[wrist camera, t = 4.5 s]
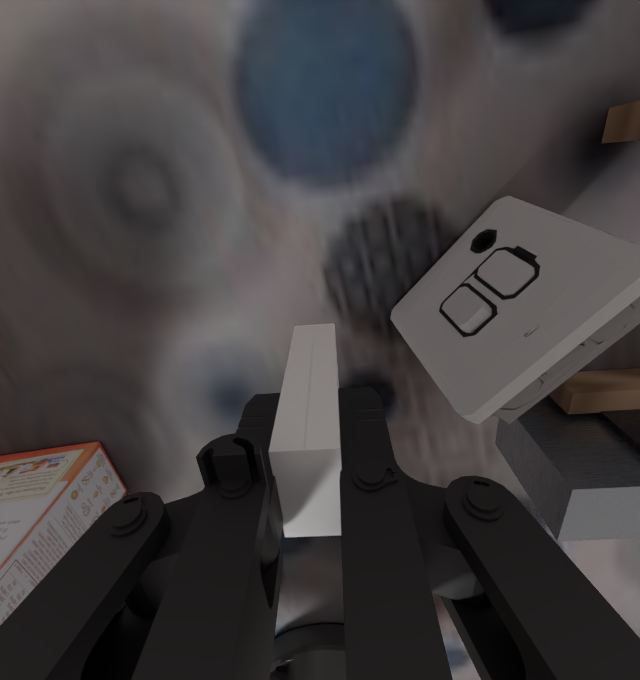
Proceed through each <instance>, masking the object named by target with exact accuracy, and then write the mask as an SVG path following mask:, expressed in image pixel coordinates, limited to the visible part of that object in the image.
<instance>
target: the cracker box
mask: <svg viewBox="0 0 640 680" xmlns="http://www.w3.org/2000/svg"><path fill="white" fill-rule="evenodd" d="M126 491H127V489H126V487H125V486H124V484H123V482H122V481H121V479H120V477H119V475H118V474H117V472H116V470H115V468H114V467H113V465H112V463H111V461H110V459H109V458H108V456H107V454H106V452H105V451H104V449H103V447H102V445H101V444H100V442H90V443H84V444H77V445H70V446H63V447H57V448H50V449H43V450H37V451H30V452H23V453H16V454H9V455H2V456H0V625H1V624H2V623H3V622H4V621H5V620H6V619H7V618H8V617H9V615H10V614H11V613H12V612H13V611H14V610H15V609H16V608H17V607H18V606H19V604H20V603H21V602H22V601H23V600H24V599H25V598H26V597H27V596H28V595H29V593H30V592H31V591H32V590H33V589H34V588H35V587H36V586H37V585H38V583H39V582H40V581H41V580H42V579H43V578H44V577H45V576H46V575H47V574H48V572H49V571H50V570H51V569H52V568H53V567H54V566H55V565H56V564H57V563H58V561H59V560H60V559H61V558H62V557H63V556H64V555H65V554H66V553H67V552H68V550H69V549H70V548H71V547H72V546H73V545H74V544H75V543H76V542H77V541H78V539H79V538H80V537H81V536H82V535H83V534H84V533H85V532H86V531H87V530H88V528H89V527H90V526H91V525H92V524H93V523H94V522H95V521H96V520H97V519H98V517H99V516H100V515H101V514H102V513H103V512H104V511H106V510H107V509H108V508H109V507H110V506H111V505H112V504H114V503H115V502H117V501H119V500H121V499H122V498H123V496H124V495H125V493H126Z"/></svg>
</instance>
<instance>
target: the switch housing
mask: <svg viewBox="0 0 640 680" xmlns="http://www.w3.org/2000/svg"><path fill="white" fill-rule="evenodd" d="M531 401H532V400H531ZM507 409H510V408H507ZM495 444H496V445H497V447H498V448H499V450H500V451H501V453H502V455H503V456H504V458H505V459H506V461H507V463H508V464H509V466H510V467H511V469H512V470H513V472H514V474H515V475H516V477H517V478H518V480H519V482H520V483H521V485H522V486H523V488H524V489H525V491H526V493H527V494H528V496H529V497H530V499H531V500H532V502H533V504H534V505H535V507H536V508H537V510H538V512H539V513H540V515H541V516H542V518H543V519H544V521H545V523H546V524H547V526H548V527H549V529H550V530H551V532H552V534H553V535H554V537H555V538H556V540H557V541H574V540H599V539H624V538H640V409H631V410H614V411H600V413H583V414H567V413H566V412H565V411H564V410H563V409H562V408H561V407H560V406H559V405H558V404H557V403H556V402H555V401H554V400H553V399H552V398H551V397H545V398H543V399H541V400H540V401H539V402H538V403H536V404H535V405H534V406H532V407H531V408H530V409H528V410H527V411H526V412H525V413H523V414H522V415H521V416H519V417H518V418H517V419H515V420H514V421H513V422H512V423H510V424H509V423H506V422H505V421H503V420H502V419H500V418H499V424H498V430H497V436H496V442H495Z"/></svg>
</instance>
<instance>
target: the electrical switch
mask: <svg viewBox="0 0 640 680" xmlns="http://www.w3.org/2000/svg"><path fill="white" fill-rule="evenodd" d="M390 319H391V321H392V322H393V323H394V325H395V326H396V328H397V329H398V331H399V332H400V334H401V335H402V336H403V338H404V339H405V341H406V342H407V344H408V345H409V346H410V348H411V349H412V351H413V352H414V353H415V355H416V356H417V358H418V359H419V361H420V362H421V363H422V365H423V366H424V368H425V369H426V370H427V372H428V373H429V375H430V376H431V377H432V379H433V380H434V382H435V383H436V385H437V386H438V387H439V389H440V390H441V392H442V393H443V394H444V396H445V397H446V399H447V400H448V402H449V403H450V404H451V406H452V407H453V409H454V410H455V411H456V412H457V413H458V414H459V415H461V416H462V417H463V418H465V419H466V420H468V421H471V422H473V423H476V424H479V423H480V422H482V421H483V420H485V419H486V418H488V417H489V416H490V415H495V416H497V417H499V418H500V419H502V420H503V421H505V422H506V423H509V424H510V423H512V422H513V421H514V420H515V419H517V418H518V417H519V416H521V415H522V414H523V413H525V412H526V411H527V410H528V409H530V408H531V407H532V406H534V405H535V404H536V403H538V402H539V401H540V400H541V399H543V398H544V397H545V396H547V395H548V394H549V393H550V392H552V391H553V390H554V389H556V388H557V387H558V386H560V385H561V384H562V383H563V382H565V381H566V380H567V379H569V378H570V377H571V376H573V375H574V374H575V373H576V372H578V371H579V370H580V369H582V368H583V367H584V366H586V365H587V364H588V363H589V362H591V361H592V360H593V359H595V358H596V357H597V356H598V355H600V354H601V353H602V352H604V351H605V350H606V349H608V348H609V347H610V346H611V345H613V344H614V343H615V342H617V341H618V340H619V339H621V338H622V337H623V336H624V335H626V334H627V333H628V332H630V331H631V330H632V329H633V328H635V327H636V326H637V325H639V324H640V245H638V244H635V243H633V242H630V241H628V240H625V239H622V238H620V237H617V236H614V235H612V234H609V233H606V232H604V231H601V230H599V229H596V228H593V227H591V226H588V225H585V224H583V223H580V222H577V221H575V220H572V219H570V218H567V217H564V216H562V215H559V214H556V213H554V212H551V211H549V210H546V209H543V208H541V207H538V206H535V205H533V204H530V203H527V202H525V201H522V200H520V199H517V198H514V197H512V196H506V197H503V198H500V199H498V200H496V201H495V202H494V203H492V204H491V206H490V207H489V208H488V209H487V210H486V211H485V212H484V213H483V214H482V215H481V216H480V217H479V218H478V219H477V220H476V221H475V222H474V223H473V225H472V226H471V227H470V228H469V229H468V230H467V231H466V232H465V233H464V234H463V235H462V236H461V237H460V238H459V239H458V240H457V241H456V242H455V244H454V245H453V246H452V247H451V248H450V249H449V250H448V251H447V252H446V253H445V254H444V255H443V256H442V257H441V258H440V259H439V260H438V261H437V263H436V264H435V265H434V266H433V267H432V268H431V269H430V270H429V271H428V272H427V273H426V274H425V275H424V276H423V277H422V278H421V279H420V280H419V281H418V283H417V284H416V285H415V286H414V287H413V288H412V289H411V290H410V291H409V292H408V293H407V294H406V295H405V296H404V297H403V298H402V299H401V300H400V302H399V303H398V304H397V305H396V306H395V307H394V308H393V310H392V312H391V318H390ZM625 325H626V327H624V326H625ZM623 327H624V328H623ZM581 342H582V343H583V345H579V344H580V343H581ZM545 371H546V374H545V373H544V372H545ZM540 379H541V380H542V381H540ZM531 400H532V401H531ZM507 408H510V409H507Z"/></svg>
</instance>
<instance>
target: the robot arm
mask: <svg viewBox="0 0 640 680" xmlns="http://www.w3.org/2000/svg"><path fill="white" fill-rule="evenodd" d="M196 459H197V462H198V465H199V469H200V472H201V475H202V478H203V481H204V485H205V488H204V490H202V491H201V492H199V493H196V494H194V495H191V496H189V497H186V498H183V499H179V500H176V501H173V502H170V503H167V504H164V503H163V501H162V499H161V498H160V496H159V495H156V494H154V493H152V492H139V493H136V494H132V495H129V496H126V497H124V498H123V499H121V500H119V501H117V502H115V503H114V504H112V505H111V506H110V507H109V508H108V509H107V510H106V511H104V512H103V513H102V514H101V515H100V516H99V517H98V519H97V520H96V521H95V522H94V523H93V524H92V525H91V526H90V527H89V528H88V530H87V531H86V532H85V533H84V534H83V535H82V536H81V537H80V538H79V539H78V541H77V542H76V543H75V544H74V545H73V546H72V547H71V548H70V549H69V550H68V552H67V553H66V554H65V555H64V556H63V557H62V558H61V559H60V560H59V561H58V563H57V564H56V565H55V566H54V567H53V568H52V569H51V570H50V571H49V572H48V574H47V575H46V576H45V577H44V578H43V579H42V580H41V581H40V582H39V583H38V585H37V586H36V587H35V588H34V589H33V590H32V591H31V592H30V593H29V595H28V596H27V597H26V598H25V599H24V600H23V601H22V602H21V603H20V604H19V606H18V607H17V608H16V609H15V610H14V611H13V612H12V613H11V614H10V615H9V617H8V618H7V619H6V620H5V621H4V622H3V623H2V624H1V625H0V680H453V679H452V675H451V671H450V667H449V663H448V659H447V655H446V650H445V646H444V642H443V638H442V634H441V630H440V626H439V622H438V617H437V613H436V609H435V605H434V601H433V597H432V593H435V594H438V595H440V597H441V599H442V601H443V603H444V605H445V607H446V609H447V611H448V613H449V615H450V617H451V619H452V621H453V623H454V625H455V627H456V629H457V631H458V633H459V635H460V637H461V639H462V641H463V643H464V645H465V648H466V650H467V652H468V654H469V656H470V658H471V660H472V662H473V664H474V666H475V668H476V670H477V672H478V674H479V676H480V678H481V680H640V638H639V637H638V636H637V635H636V634H635V632H634V631H633V630H632V629H631V628H630V627H629V626H628V624H627V623H626V622H625V621H624V620H623V619H622V618H621V616H620V615H619V614H618V613H617V612H616V611H615V610H614V608H613V607H612V606H611V605H610V604H609V603H608V602H607V601H606V599H605V598H604V597H603V596H602V595H601V594H600V593H599V591H598V590H597V589H596V588H595V587H594V586H593V585H592V583H591V582H590V581H589V580H588V579H587V578H586V577H585V575H584V574H583V573H582V572H581V571H580V570H579V569H578V568H577V566H576V565H575V564H574V563H573V562H572V561H571V560H570V558H569V557H568V556H567V555H566V554H565V553H564V552H563V550H562V549H561V548H560V547H559V546H558V545H557V544H556V543H555V541H554V540H553V539H552V538H551V537H550V536H549V535H548V533H547V532H546V531H545V530H544V529H543V528H542V527H541V525H540V524H539V523H538V522H537V521H536V520H535V519H534V517H533V516H532V515H531V514H530V513H529V512H528V511H527V510H526V508H525V507H524V506H523V505H522V504H521V503H520V502H519V500H518V499H517V498H516V497H515V496H514V495H513V494H512V493H511V492H510V491H508V490H507V489H506V488H505V487H504V486H503V485H501V484H499V483H497V482H495V481H493V480H491V479H488V478H483V477H479V476H464V477H460V478H458V479H456V480H454V481H452V482H451V483H450V485H449V486H448V487H447V489H445V488H441V487H437V486H432V485H428V484H425V483H421V482H418V481H416V480H414V479H412V478H411V477H409V476H408V475H406V474H405V473H404V472H403V471H402V470H401V469H400V468H399V466H398V465H397V463H396V461H395V458H394V454H393V450H392V445H391V441H390V437H389V432H388V428H387V424H386V420H385V415H384V411H383V406H382V402H381V398H380V395H379V394H378V393H377V392H376V391H375V390H374V389H373V388H372V387H354V388H339V379H338V365H337V351H336V337H335V323H329V324H315V325H300V326H295V327H294V332H293V337H292V342H291V346H290V351H289V356H288V361H287V365H286V370H285V375H284V380H283V385H282V389H281V393H273V394H256V395H255V396H254V397H253V398H252V399H251V400H250V401H249V402H248V403H247V404H246V405H245V408H244V411H243V414H242V419H241V420H240V423H239V425H238V429H237V431H236V433H235V434H229V435H224V436H221V437H219V438H217V439H215V440H212V441H211V442H210V443H208V444H207V445H206V446H204V447H203V448H202V449H201V451H200V452H199V454H198V455H197V456H196ZM282 527H283V530H284V535H285V537H310V536H337V535H341V541H342V570H343V599H344V625H336V624H321V625H311V626H305V627H301V628H297V629H294V630H291V631H289V632H286V633H284V634H282V635H280V636H279V637H277V638H276V639H275V640H274V636H275V627H276V618H277V609H278V600H279V591H280V582H281V573H282V564H283V558H282V550H281V545H280V543H281V535H282ZM431 592H432V593H431Z"/></svg>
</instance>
